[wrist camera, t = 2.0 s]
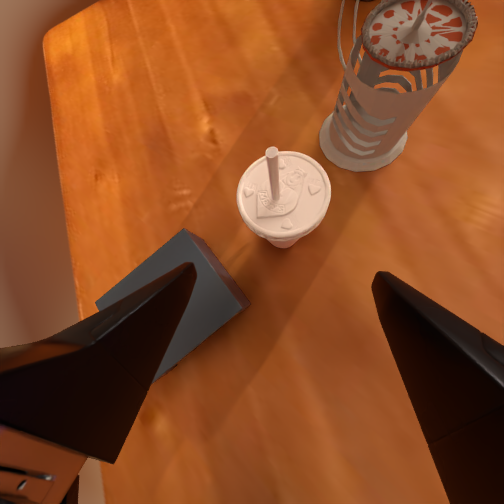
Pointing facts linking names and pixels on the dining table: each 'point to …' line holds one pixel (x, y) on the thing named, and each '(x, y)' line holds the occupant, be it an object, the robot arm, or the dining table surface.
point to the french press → (392, 77)
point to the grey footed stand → (202, 299)
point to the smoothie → (283, 196)
